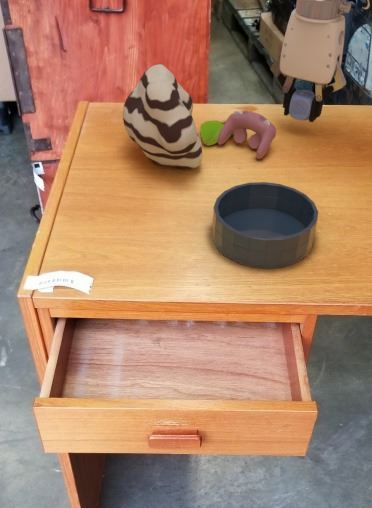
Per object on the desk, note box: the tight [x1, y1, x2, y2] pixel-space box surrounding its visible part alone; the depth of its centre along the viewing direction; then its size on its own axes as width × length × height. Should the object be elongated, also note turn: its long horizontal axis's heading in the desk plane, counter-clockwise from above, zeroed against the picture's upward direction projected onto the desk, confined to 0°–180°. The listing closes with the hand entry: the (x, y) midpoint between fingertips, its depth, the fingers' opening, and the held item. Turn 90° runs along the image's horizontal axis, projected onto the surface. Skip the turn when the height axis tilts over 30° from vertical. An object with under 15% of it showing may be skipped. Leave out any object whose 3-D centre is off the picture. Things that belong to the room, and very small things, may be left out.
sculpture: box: [122, 63, 203, 171], centre depth 101 cm, size 22×12×15 cm, turn 14°
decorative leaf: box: [199, 120, 234, 147], centre depth 112 cm, size 8×9×1 cm
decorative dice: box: [288, 89, 316, 121], centre depth 110 cm, size 4×4×4 cm
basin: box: [212, 181, 319, 270], centre depth 89 cm, size 15×15×5 cm
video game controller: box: [217, 110, 277, 160], centre depth 108 cm, size 10×5×7 cm, turn 56°
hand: (301, 115), depth 111 cm, fingers closed on decorative dice, 4 cm apart
